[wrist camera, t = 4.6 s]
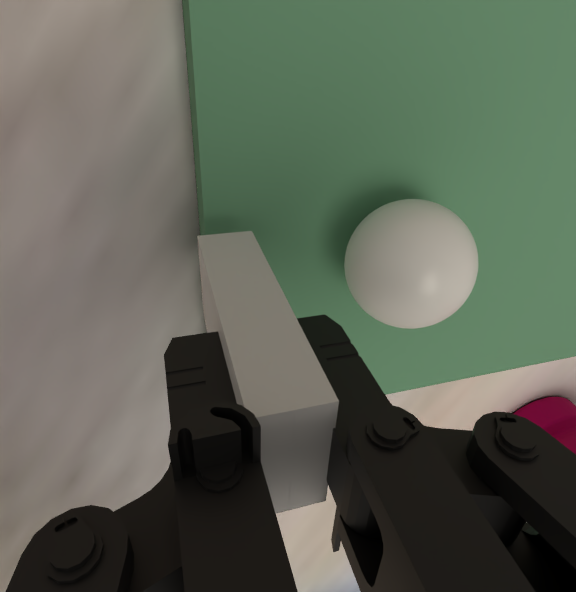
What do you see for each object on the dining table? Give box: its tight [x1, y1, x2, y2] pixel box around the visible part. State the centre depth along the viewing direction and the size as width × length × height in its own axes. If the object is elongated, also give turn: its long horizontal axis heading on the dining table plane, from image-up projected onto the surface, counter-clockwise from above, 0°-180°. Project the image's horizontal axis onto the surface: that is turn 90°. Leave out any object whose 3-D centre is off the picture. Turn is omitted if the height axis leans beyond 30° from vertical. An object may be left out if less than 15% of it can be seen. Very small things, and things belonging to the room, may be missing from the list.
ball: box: [344, 199, 478, 329], centre depth 14 cm, size 4×4×4 cm
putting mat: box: [182, 0, 576, 395], centre depth 17 cm, size 28×16×4 cm, turn 88°
